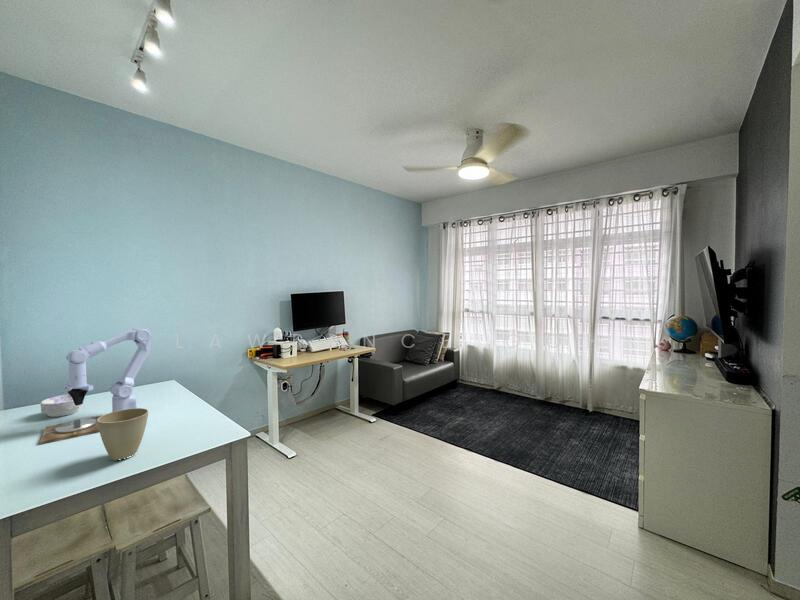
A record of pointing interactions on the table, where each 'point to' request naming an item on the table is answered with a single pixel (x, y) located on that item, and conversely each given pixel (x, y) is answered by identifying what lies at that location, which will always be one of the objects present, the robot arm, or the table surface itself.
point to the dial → (75, 425)
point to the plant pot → (122, 431)
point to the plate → (52, 436)
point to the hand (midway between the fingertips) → (78, 404)
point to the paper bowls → (59, 406)
